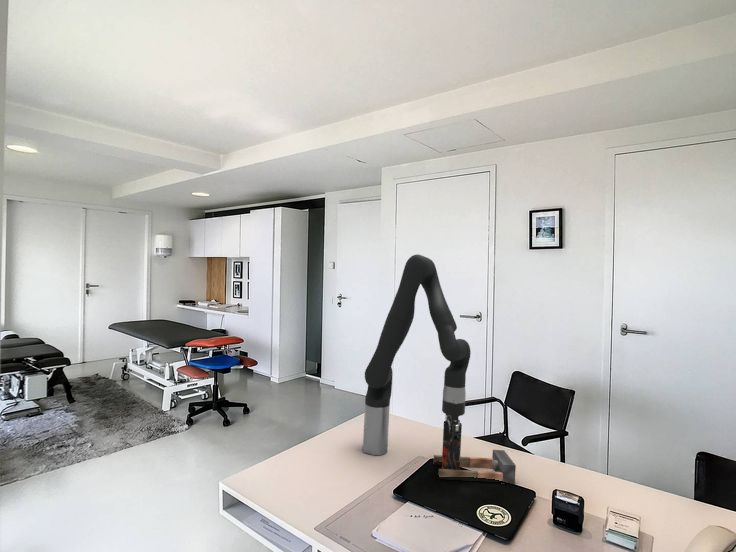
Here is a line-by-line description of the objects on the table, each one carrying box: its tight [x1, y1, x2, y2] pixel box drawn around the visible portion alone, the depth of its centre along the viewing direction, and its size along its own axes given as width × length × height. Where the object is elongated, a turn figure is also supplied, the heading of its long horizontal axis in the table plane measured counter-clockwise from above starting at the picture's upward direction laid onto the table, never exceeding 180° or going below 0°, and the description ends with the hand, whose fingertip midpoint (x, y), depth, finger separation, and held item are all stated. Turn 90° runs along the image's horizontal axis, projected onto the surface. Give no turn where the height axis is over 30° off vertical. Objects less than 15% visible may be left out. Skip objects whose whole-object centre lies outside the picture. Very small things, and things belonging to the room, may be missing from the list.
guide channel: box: [433, 449, 517, 485], centre depth 133 cm, size 24×11×6 cm, turn 89°
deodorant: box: [441, 420, 463, 470], centre depth 133 cm, size 6×6×15 cm
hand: (451, 448), depth 133 cm, fingers closed on deodorant, 6 cm apart
